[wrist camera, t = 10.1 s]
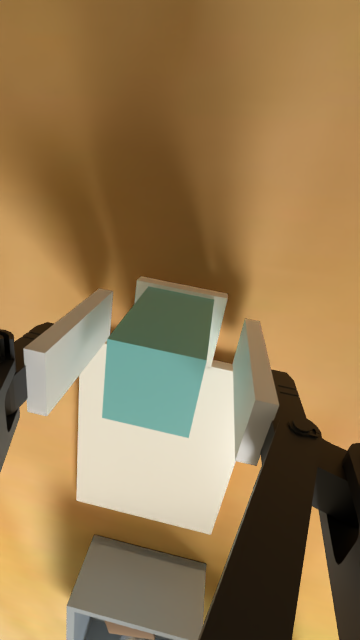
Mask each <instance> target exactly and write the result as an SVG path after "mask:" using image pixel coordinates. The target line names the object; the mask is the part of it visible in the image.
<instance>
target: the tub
mask: <svg viewBox="0 0 360 640" xmlns="http://www.w3.org/2000/svg"><path fill="white" fill-rule="evenodd" d="M205 578H206V564H205V563H201V562H197V561H193V560H189V559H185V558H182V557H178V556H174V555H170V554H166V553H162V552H159V551H155V550H151V549H147V548H143V547H139V546H136V545H132V544H128V543H124V542H120V541H116V540H113V539H109V538H105V537H101V536H97V535H94V536H93V539H92V542H91V544H90V547H89V549H88V552H87V555H86V557H85V560H84V562H83V565H82V568H81V570H80V573H79V575H78V578H77V580H76V583H75V586H74V588H73V591H72V593H71V596H70V599H69V601H68V604H67V640H119V639H120V635H118V634H111V633H109V632H108V629H107V626H106V624H105V621H108V622H112V623H115V624H119V625H123V626H126V627H130V628H133V629H137V630H140V631H144V632H148V633H151V634H155V640H198V638H199V635H200V632H201V630H202V627H203V612H204V595H205ZM104 620H105V621H104Z"/></svg>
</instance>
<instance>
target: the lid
mask: <svg viewBox="0 0 360 640" xmlns="http://www.w3.org/2000/svg"><path fill="white" fill-rule="evenodd" d="M227 299H228V294H227V293H222V292H218V291H213V290H208V289H203V288H198V287H193V286H188V285H183V284H178V283H173V282H168V281H163V280H158V279H153V278H148V277H143V276H140V277H139V279H138V280H137V283H136V293H135V303H134V305H133V307H132V308H131V309H130V310H129V312H128V313H127V314H126V316H125V317H124V318H123V319H122V321H121V322H120V323H119V324H118V326H117V327H116V328H115V330H114V331H113V332H112V333H111V335H110V336H109V337H108V338H107V341H106V342H105V343H104V345H103V346H102V347H101V348H100V350H99V351H98V352H97V353H96V355H95V356H94V357H93V359H92V360H91V361H90V362H89V364H88V365H87V366H86V367H85V369H84V370H83V371H82V372H81V374H80V375H79V413H78V456H77V499H76V501H80V502H84V503H87V504H91V505H95V506H99V507H103V508H107V509H111V510H115V511H119V512H123V513H127V514H131V515H135V516H139V517H143V518H147V519H150V520H154V521H158V522H162V523H166V524H170V525H174V526H178V527H182V528H186V529H190V530H194V531H198V532H202V533H206V534H210V535H211V533H212V530H213V527H214V524H215V521H216V518H217V515H218V512H219V509H220V506H221V503H222V500H223V497H224V494H225V491H226V488H227V485H228V482H229V479H230V476H231V473H232V471H233V468H234V465H235V462H236V461H235V435H234V393H233V364H230V363H226V362H221V361H216V360H213V357H214V353H215V349H216V345H217V341H218V336H219V332H220V328H221V324H222V320H223V316H224V312H225V308H226V303H227Z"/></svg>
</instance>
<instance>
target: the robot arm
mask: <svg viewBox="0 0 360 640" xmlns="http://www.w3.org/2000/svg"><path fill="white" fill-rule="evenodd" d="M112 300H113V291H110V290H105V289H100V288H99V289H98V290H96V291H95V292H94V293H93V294H91V295H90V296H89V297H88V298H86V299H85V300H84V301H83V302H81V303H80V304H79V305H78V306H76V307H75V308H74V309H72V310H71V311H70V312H69V313H67V314H66V315H65V316H64V317H62V318H61V319H60V320H59V321H57V322H56V323H55V324H54V323H49V322H46V323H44V324H41V325H38V326H36V327H34V328H33V329H32V330H30V331H29V333H26V334H25V335H23V337H21V338H19V339H18V340H17V341H15V342H14V335H13V334H12V333H11V332H9V331H6V330H1V329H0V472H1V469H2V466H3V463H4V460H5V458H6V455H7V452H8V449H9V446H10V443H11V440H12V437H13V435H14V432H15V429H16V426H17V423H18V420H19V417H20V410H19V407H20V406H21V405H22V404H23V403H24V402H25V401H26V400H27V412H31V413H35V414H40V415H44V416H48V414H49V413H50V412H51V410H52V409H53V408H54V407H55V405H56V404H57V403H58V402H59V400H60V399H61V398H62V397H63V395H64V394H65V393H66V391H67V390H68V389H69V388H70V386H71V385H72V384H73V383H74V381H75V380H76V379H77V378H78V376H79V375H80V374H81V372H82V371H83V370H84V369H85V367H86V366H87V365H88V364H89V362H90V361H91V360H92V359H93V357H94V356H95V355H96V353H97V352H98V351H99V350H100V348H101V347H102V346H103V345H104V343H105V342H106V341H107V338H108V337H109V336H110V328H111V314H112ZM296 390H297V389H296V386H295V383H294V380H293V379H292V378H291V377H290V376H289V375H288V374H287V373H285V372H281V371H276V370H271V367H270V363H269V358H268V354H267V350H266V345H265V341H264V337H263V332H262V328H261V324H260V321H256V320H251V319H247V318H245V320H244V324H243V328H242V331H241V335H240V339H239V342H238V346H237V350H236V353H235V357H234V360H233V393H234V435H235V461H238V462H242V463H247V464H251V465H255V466H257V463H258V460H259V458H260V455H261V461H262V467H261V470H260V472H259V475H258V477H257V480H256V482H255V485H254V488H253V491H252V494H251V496H250V499H249V502H248V505H247V507H246V510H245V513H244V515H243V518H242V521H241V524H240V526H239V529H238V532H237V534H236V537H235V540H234V543H233V545H232V548H231V551H230V554H229V556H228V559H227V562H226V564H225V567H224V570H223V573H222V575H221V578H220V581H219V583H218V586H217V589H216V592H215V594H214V597H213V600H212V602H211V605H210V608H209V611H208V613H207V616H206V619H205V621H204V624H203V627H202V630H201V632H200V635H199V638H198V640H292V634H293V627H294V621H295V614H296V607H297V601H298V594H299V587H300V581H301V574H302V567H303V561H304V554H305V547H306V541H307V534H308V527H309V521H310V514H311V508H312V506H313V507H315V508H317V509H319V515H320V522H321V528H322V534H323V540H324V547H325V553H326V559H327V566H328V572H329V578H330V585H331V591H332V597H333V603H334V610H335V616H336V622H337V629H338V635H339V640H360V443H355V444H352V445H351V446H350V447H349V449H348V451H346V450H344V449H342V448H340V447H338V446H335V445H333V444H331V443H329V442H327V441H325V440H324V439H322V436H321V432H320V430H319V429H318V427H317V426H316V425H315V424H314V423H312V422H311V421H310V420H308V419H307V418H306V415H305V413H304V410H303V407H302V404H301V401H300V398H299V395H298V392H297V391H296Z"/></svg>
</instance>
